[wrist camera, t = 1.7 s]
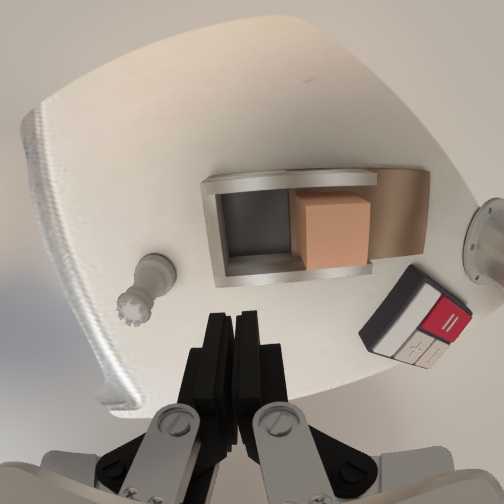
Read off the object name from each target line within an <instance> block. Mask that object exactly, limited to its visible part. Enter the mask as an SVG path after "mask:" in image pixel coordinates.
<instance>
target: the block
mask: <svg viewBox="0 0 504 504" xmlns="http://www.w3.org/2000/svg"><path fill="white" fill-rule="evenodd" d="M295 210H296V237H297V249H298V251H299V253H300V255H301V258H302V260H303V263H304V265H305V267H306V270H317V269H327V268H338V267H348V266H357V265H367V257H368V244H369V228H370V202H368V201H366V200H364V199H362V198H360V197H359V196H357V195H355V194H353V193H351V192H349V191H337V192H314V193H296V194H295Z"/></svg>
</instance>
